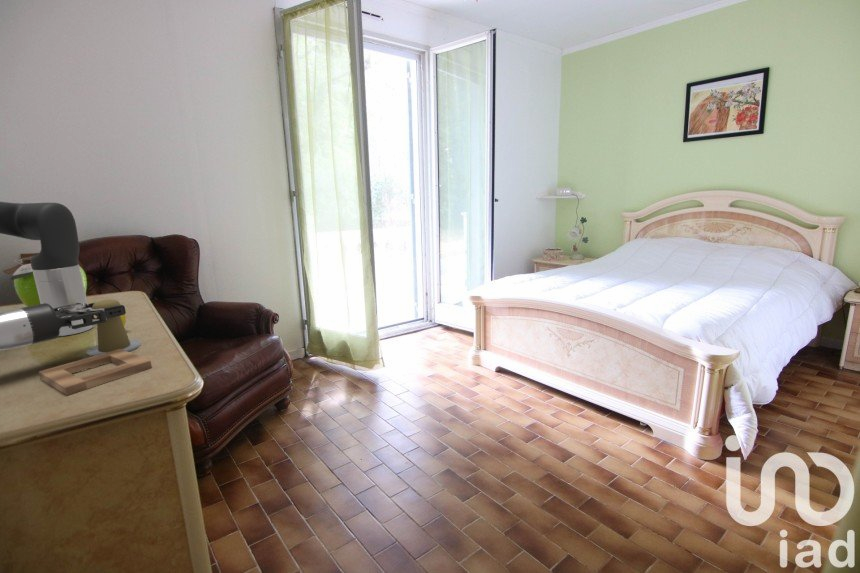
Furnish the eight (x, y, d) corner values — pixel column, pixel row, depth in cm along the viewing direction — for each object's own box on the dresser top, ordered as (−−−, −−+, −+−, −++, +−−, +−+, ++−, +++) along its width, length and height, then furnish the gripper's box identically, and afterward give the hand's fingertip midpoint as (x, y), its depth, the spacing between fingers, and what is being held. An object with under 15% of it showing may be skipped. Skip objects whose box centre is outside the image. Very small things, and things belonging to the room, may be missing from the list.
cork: (105, 353, 95) (95, 305, 93) (93, 349, 98) (83, 302, 96) (135, 345, 100) (126, 298, 98) (123, 341, 103) (114, 296, 101)
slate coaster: (80, 352, 99) (79, 349, 99) (129, 338, 107) (129, 336, 107) (98, 360, 93) (97, 357, 93) (148, 345, 101) (148, 343, 101)
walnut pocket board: (40, 378, 85) (38, 371, 84) (121, 355, 96) (120, 348, 96) (66, 395, 77) (65, 387, 77) (151, 367, 88) (150, 360, 88)
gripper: (30, 313, 82) (127, 294, 95) (8, 304, 90) (100, 287, 103) (39, 350, 83) (133, 327, 96) (17, 338, 91) (106, 318, 104)
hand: (116, 307), depth 100 cm, fingers open, 8 cm apart
